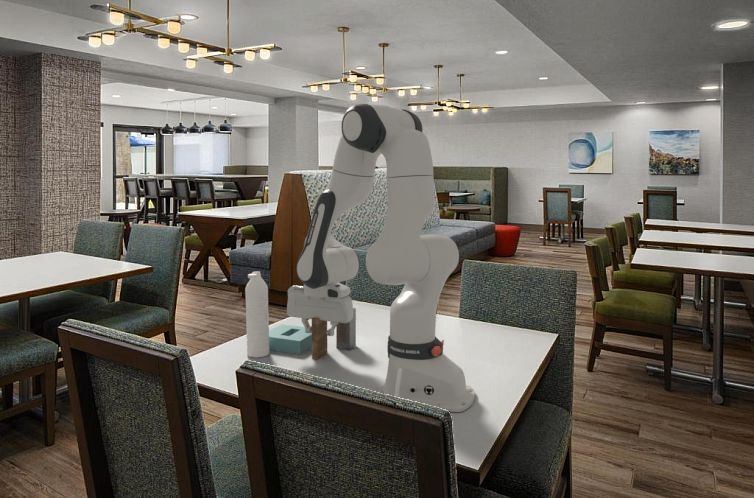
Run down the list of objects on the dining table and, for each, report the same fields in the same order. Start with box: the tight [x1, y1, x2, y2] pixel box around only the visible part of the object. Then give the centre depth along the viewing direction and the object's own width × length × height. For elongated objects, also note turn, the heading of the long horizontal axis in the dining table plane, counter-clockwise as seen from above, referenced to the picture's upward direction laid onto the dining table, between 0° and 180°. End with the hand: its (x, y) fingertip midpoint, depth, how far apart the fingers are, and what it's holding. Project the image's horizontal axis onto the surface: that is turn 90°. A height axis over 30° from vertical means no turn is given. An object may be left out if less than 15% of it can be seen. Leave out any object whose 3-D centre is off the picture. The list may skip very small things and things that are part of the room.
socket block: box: [269, 323, 312, 355], centre depth 168 cm, size 14×13×4 cm
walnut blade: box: [311, 318, 328, 360], centre depth 158 cm, size 2×6×12 cm, turn 159°
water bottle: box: [244, 270, 271, 359], centre depth 156 cm, size 9×6×25 cm
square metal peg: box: [335, 307, 357, 351], centre depth 166 cm, size 4×4×12 cm
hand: (319, 334), depth 158 cm, fingers open, 6 cm apart
